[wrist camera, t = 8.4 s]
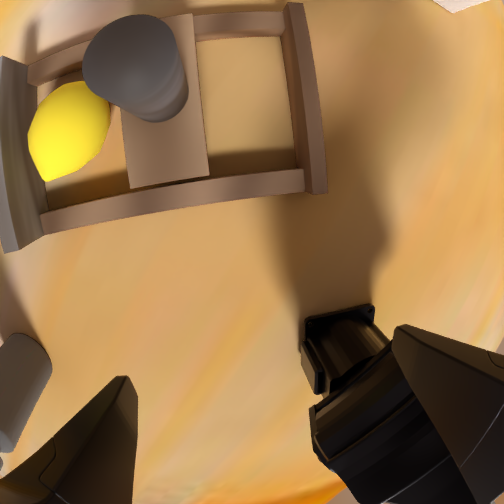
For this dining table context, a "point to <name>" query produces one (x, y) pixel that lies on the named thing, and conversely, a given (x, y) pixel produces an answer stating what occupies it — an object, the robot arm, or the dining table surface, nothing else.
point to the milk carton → (458, 4)
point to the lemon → (67, 130)
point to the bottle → (20, 386)
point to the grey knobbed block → (152, 94)
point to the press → (168, 196)
